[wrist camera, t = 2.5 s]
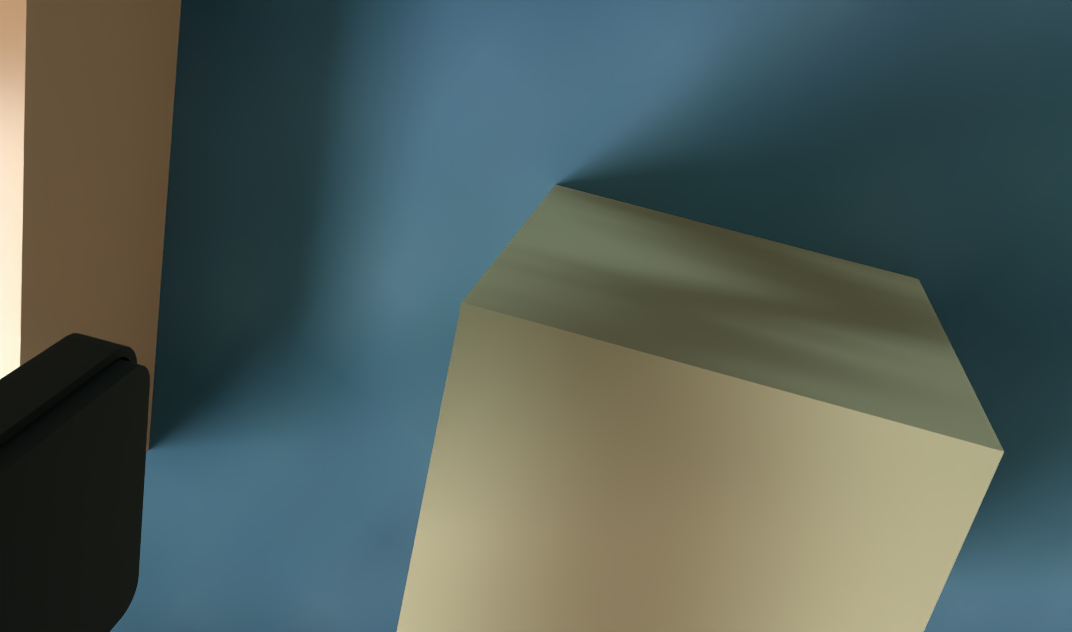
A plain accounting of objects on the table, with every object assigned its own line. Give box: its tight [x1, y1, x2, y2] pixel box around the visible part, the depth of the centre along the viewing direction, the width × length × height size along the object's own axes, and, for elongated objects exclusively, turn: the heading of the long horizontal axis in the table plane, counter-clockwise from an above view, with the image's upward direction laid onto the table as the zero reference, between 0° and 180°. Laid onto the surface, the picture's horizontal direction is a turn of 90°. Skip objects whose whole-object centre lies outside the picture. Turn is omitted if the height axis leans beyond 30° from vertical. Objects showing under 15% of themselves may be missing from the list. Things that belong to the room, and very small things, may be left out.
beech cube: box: [397, 185, 1004, 632], centre depth 14 cm, size 6×6×6 cm
